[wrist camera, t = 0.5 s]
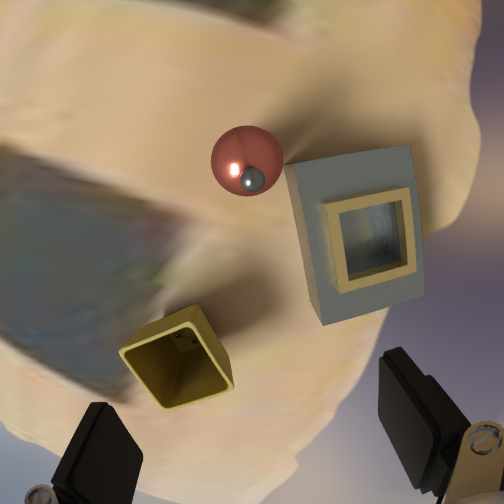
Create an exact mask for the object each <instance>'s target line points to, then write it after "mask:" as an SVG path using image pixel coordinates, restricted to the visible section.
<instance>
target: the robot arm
mask: <svg viewBox="0 0 504 504" xmlns="http://www.w3.org/2000/svg"><path fill="white" fill-rule="evenodd" d="M378 415H379V419H380V421H381V423H382V425H383V427H384V429H385V431H386V433H387V435H388V436H389V439H390V441H391V443H392V445H393V447H394V449H395V451H396V453H397V455H398V457H399V459H400V461H401V463H402V465H403V467H404V469H405V471H406V473H407V475H408V477H409V479H410V481H411V483H412V485H413V487H414V488H415V489H419V488H420V490H421V492H422V494H425V493H427V492H429V491H431V490H432V492H433V494H434V496H436V497H437V499H436V501H435V504H504V428H503V427H502V426H501V425H500V424H498V423H496V422H492V421H481V422H478V423H475V424H473V425H471V424H470V422H469V421H468V420H467V418H466V417H465V416H464V415H463V413H462V412H461V411H460V410H459V408H458V407H457V406H456V404H455V403H454V402H453V401H452V399H451V398H450V397H449V396H448V394H446V392H445V391H444V390H443V389H442V387H441V386H440V385H439V383H438V382H437V381H436V380H435V379H434V378H433V377H432V376H431V375H426V376H425V375H424V374H423V373H422V372H421V371H420V369H419V368H418V367H417V365H416V364H415V363H414V362H413V360H412V359H411V358H410V357H409V356H408V355H407V353H406V352H405V351H404V350H403V348H402V347H397V348H394V349H391V350H388V351H385V352H384V355H383V357H380V359H379V397H378ZM142 462H143V453H142V451H141V449H140V448H139V447H138V445H137V444H136V442H135V441H134V439H133V438H132V436H131V435H130V433H129V432H128V430H127V429H126V427H125V426H124V424H123V423H122V421H121V419H120V418H119V416H118V415H117V413H116V411H115V410H114V408H113V407H112V406H110V405H109V404H108V403H107V402H92V403H91V404H90V405H89V407H88V409H87V410H86V412H85V414H84V416H83V418H82V420H81V422H80V424H79V426H78V427H77V429H76V431H75V433H74V435H73V437H72V439H71V441H70V443H69V445H68V447H67V449H66V451H65V453H64V455H63V457H62V459H61V461H60V463H59V465H58V467H57V469H56V471H55V473H54V476H53V478H52V480H51V483H52V484H53V485H54V486H53V488H51V487H50V486H48V485H45V484H40V485H36V486H34V487H32V488H31V489H30V490H29V491H28V492H27V494H26V496H25V500H24V502H25V504H132V500H133V496H134V492H135V488H136V484H137V480H138V477H139V473H140V469H141V465H142Z"/></svg>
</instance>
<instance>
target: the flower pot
mask: <svg viewBox="0 0 504 504" xmlns="http://www.w3.org/2000/svg"><path fill="white" fill-rule="evenodd" d="M175 334H179V335H180V336H179V337H176V336H175ZM194 339H196V340H197V343H194V342H193V340H194ZM119 353H120V355H121V357H122V359H123V360H124V362H125V363H126V364H127V366H128V367H129V369H130V370H131V371H132V373H133V374H134V375H135V377H136V378H137V379H138V381H139V382H140V383H141V384H142V386H143V387H144V388H145V389H146V391H147V392H148V393H149V395H150V396H151V397H152V398H153V400H154V401H155V402H156V403H157V404H158V406H159V407H160V408H161V409H163V410H164V411H171V410H175V409H179V408H182V407H185V406H188V405H191V404H194V403H197V402H201V401H204V400H207V399H210V398H214V397H217V396H220V395H222V394H226V393H228V392H230V391H232V390H233V389H234V383H233V377H232V370H231V365H230V360H229V357H228V354H227V352H226V350H225V349H224V347H223V345H222V344H221V342H220V341H219V339H218V337H217V336H216V334H215V332H214V331H213V329H212V327H211V326H210V324H209V322H208V321H207V319H206V317H205V315H204V314H203V312H202V310H201V308H200V307H199V305H197V304H194V305H191V306H189V307H187V308H184V309H182V310H180V311H178V312H175V313H173V314H171V315H169V316H166V317H164V318H162V319H159V320H157V321H154V322H152V323H150V324H148V325H146V326H144V327H142V328H141V329H139V330H138V331H137V332H136V333H135V334H134V335H133V336H132V337H131V338H130V339H129V340H128V342H127V343H126V344H125V345H124V346H123V347H122V348H121V349H120V350H119Z"/></svg>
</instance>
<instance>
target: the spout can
mask: <svg viewBox="0 0 504 504" xmlns="http://www.w3.org/2000/svg"><path fill="white" fill-rule="evenodd" d="M211 167H212V171H213V174H214V176H215V178H216V180H217V181H218V183H219V184H220V185H221V186H222V187H223V188H224V189H226V190H227V191H229V192H231V193H233V194H236V195H240V196H254V195H258V194H261V193H263V192H265V191H267V190H268V189H270V188H271V187H272V186H273V185H274V184H275V183H276V181H277V180H278V178H279V176H280V174H281V171H282V167H283V155H282V151H281V148H280V146H279V144H278V142H277V141H276V139H275V138H274V137H273V136H272V135H271V134H270V133H268V132H267V131H265V130H263V129H261V128H258V127H255V126H240V127H236V128H233V129H231V130H229V131H227V132H226V133H225V134H223V135H222V136H221V137H220V138H219V140H218V141H217V142H216V144H215V146H214V148H213V151H212V155H211Z"/></svg>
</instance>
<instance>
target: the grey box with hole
mask: <svg viewBox="0 0 504 504" xmlns="http://www.w3.org/2000/svg"><path fill="white" fill-rule="evenodd" d="M283 166H284V171H285V175H286V180H287V184H288V189H289V193H290V198H291V203H292V208H293V212H294V217H295V222H296V227H297V232H298V237H299V242H300V247H301V252H302V258H303V263H304V268H305V274H306V279H307V285H308V290H309V296H310V302H311V304H312V306H313V308H314V310H315V312H316V314H317V316H318V318H319V320H320V321H321V323H322V325H323V326H325V325H328V324H332V323H336V322H339V321H343V320H347V319H350V318H354V317H357V316H360V315H364V314H367V313H371V312H374V311H377V310H380V309H384V308H387V307H390V306H393V305H396V304H399V303H402V302H405V301H408V300H411V299H414V298H417V297H420V296H423V295H424V265H423V245H422V231H421V220H420V210H419V201H418V193H417V185H416V178H415V172H414V165H413V159H412V154H411V148H410V145H405V146H394V147H384V148H377V149H370V150H364V151H358V152H351V153H345V154H340V155H334V156H328V157H323V158H317V159H312V160H307V161H302V162H297V163H292V164H287V165H283Z"/></svg>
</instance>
